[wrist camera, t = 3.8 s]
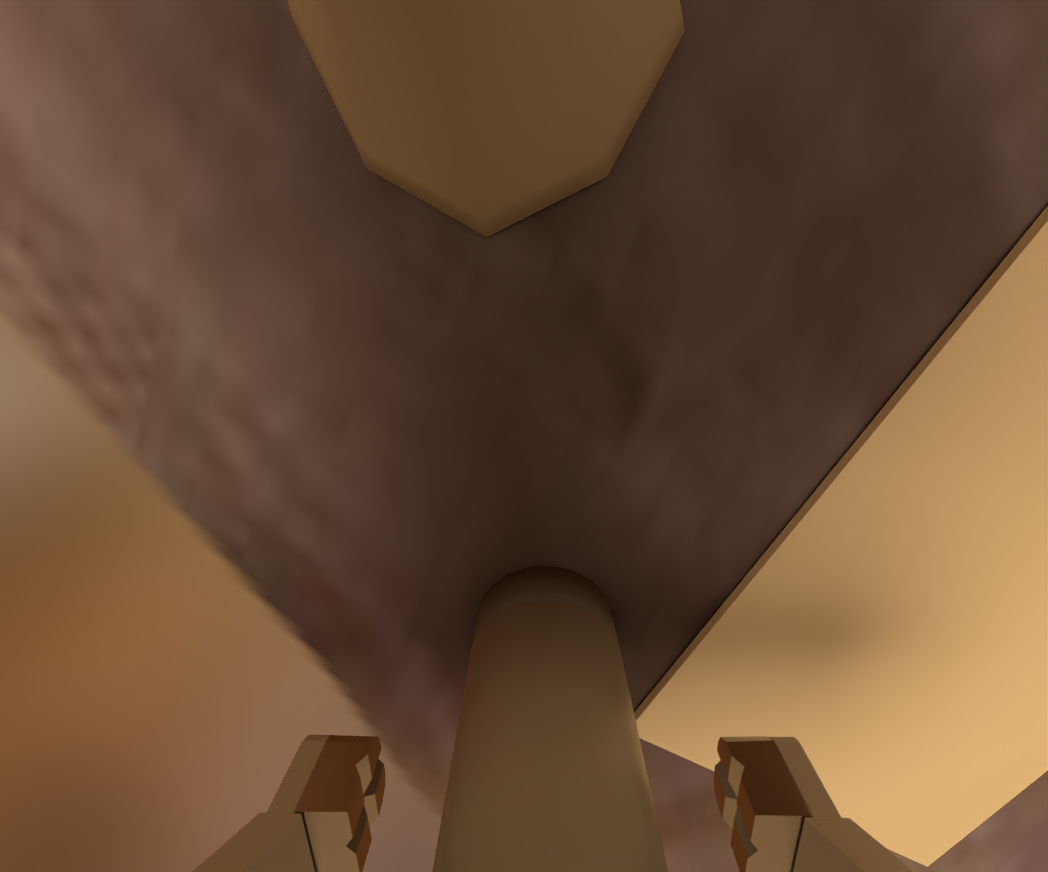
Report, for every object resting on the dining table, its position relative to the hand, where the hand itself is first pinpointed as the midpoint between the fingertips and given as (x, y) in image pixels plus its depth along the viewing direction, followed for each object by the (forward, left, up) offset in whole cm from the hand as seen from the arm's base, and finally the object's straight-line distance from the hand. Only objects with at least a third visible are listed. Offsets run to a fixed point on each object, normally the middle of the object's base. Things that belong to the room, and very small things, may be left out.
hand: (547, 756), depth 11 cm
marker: (0, 0, -4) cm, 4 cm away
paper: (-8, +10, -4) cm, 13 cm away
